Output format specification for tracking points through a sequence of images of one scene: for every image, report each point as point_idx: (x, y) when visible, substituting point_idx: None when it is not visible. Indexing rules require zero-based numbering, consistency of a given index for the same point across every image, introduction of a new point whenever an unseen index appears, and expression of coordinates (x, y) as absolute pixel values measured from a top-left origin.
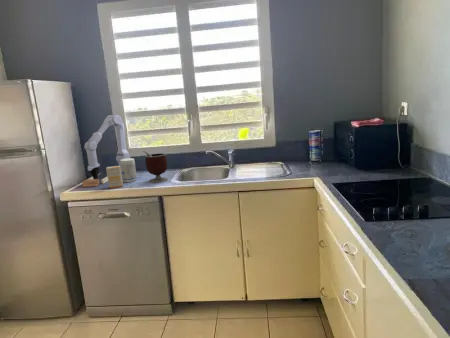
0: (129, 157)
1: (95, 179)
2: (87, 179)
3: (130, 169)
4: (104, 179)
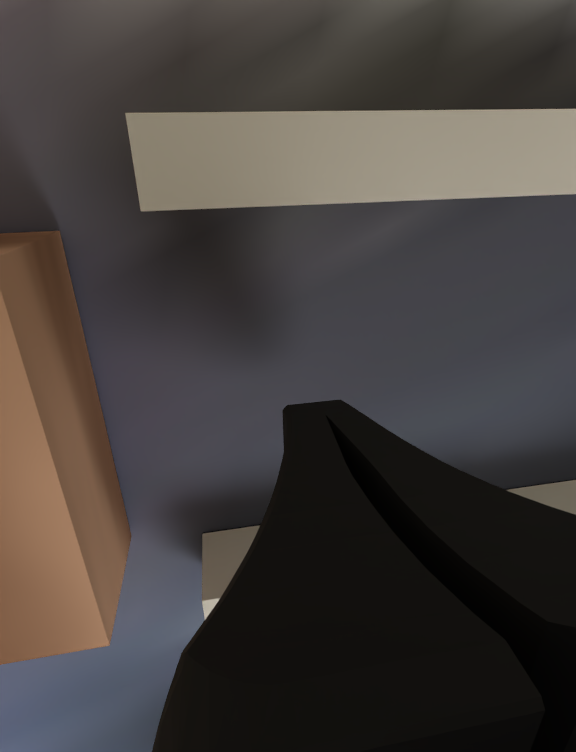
0: None
1: (61, 591)
2: (377, 127)
3: None
4: None
